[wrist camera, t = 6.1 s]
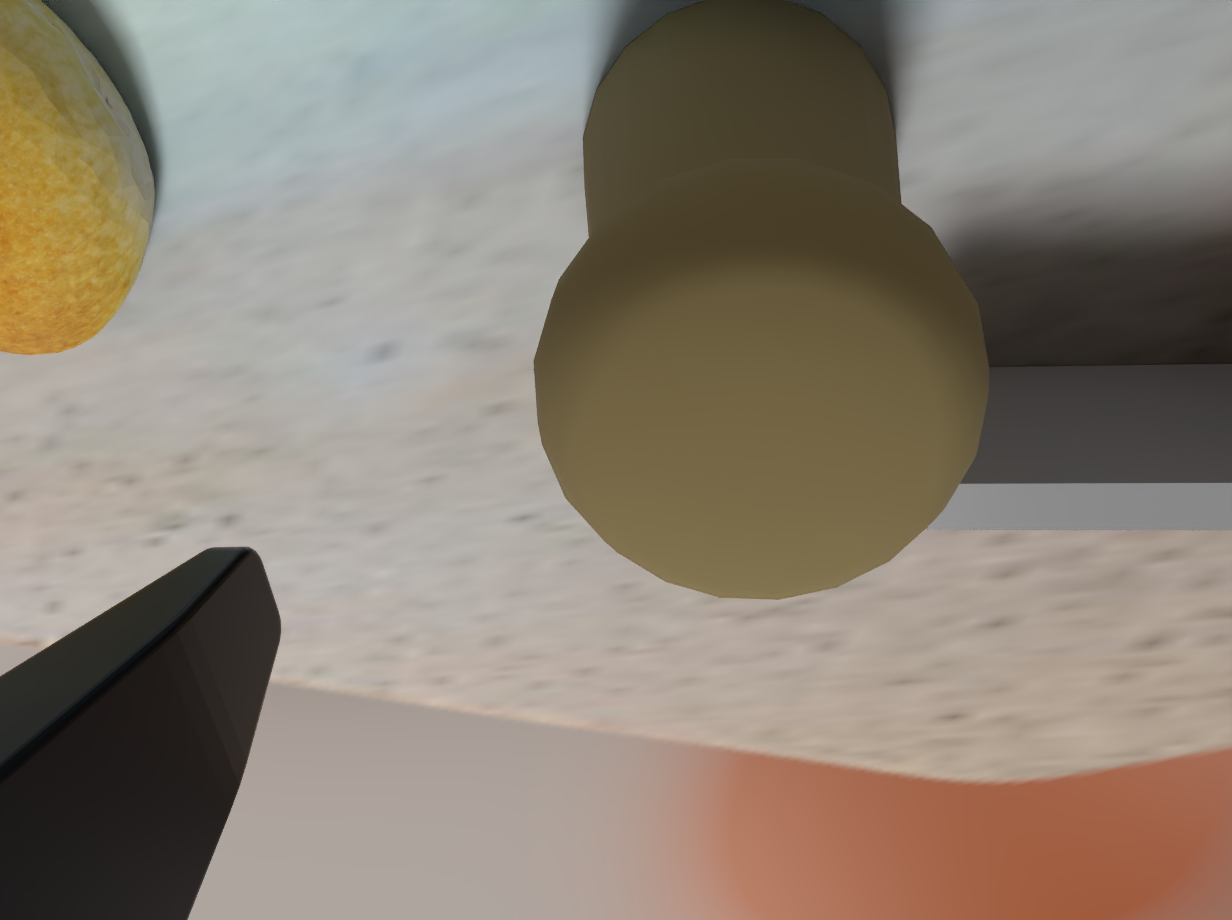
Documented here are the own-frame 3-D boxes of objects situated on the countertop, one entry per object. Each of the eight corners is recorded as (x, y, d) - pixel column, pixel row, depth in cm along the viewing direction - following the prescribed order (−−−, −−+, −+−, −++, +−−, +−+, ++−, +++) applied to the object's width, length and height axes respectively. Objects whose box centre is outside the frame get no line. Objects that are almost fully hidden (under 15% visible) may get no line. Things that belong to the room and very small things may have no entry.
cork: (940, 229, 20) (1135, 578, 11) (666, 350, 22) (637, 736, 13) (824, -74, 18) (952, 46, 8) (525, 93, 19) (356, 343, 10)
